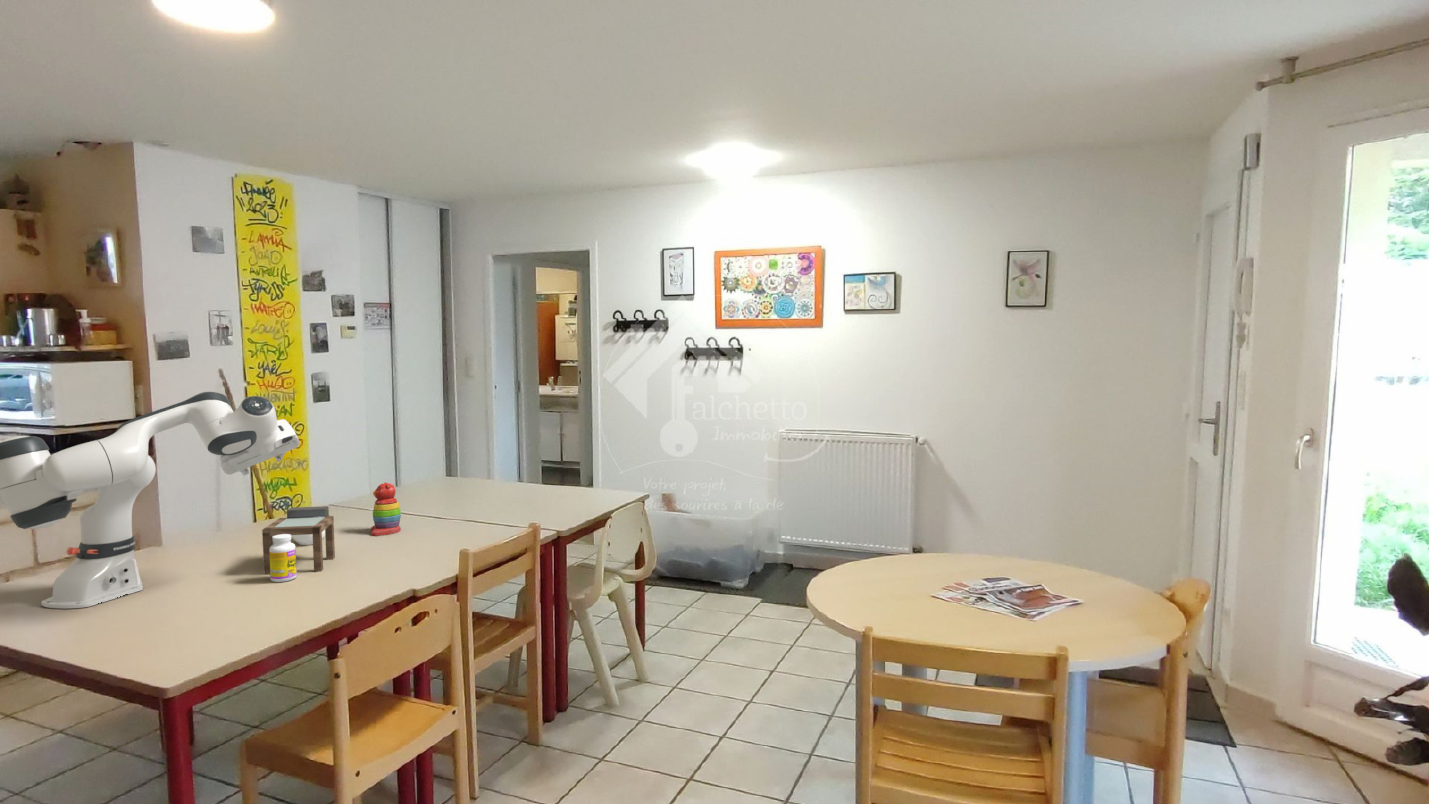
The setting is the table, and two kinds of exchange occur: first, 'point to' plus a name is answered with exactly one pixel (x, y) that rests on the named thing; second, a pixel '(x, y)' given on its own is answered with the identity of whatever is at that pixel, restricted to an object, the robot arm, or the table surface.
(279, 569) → the supplement bottle
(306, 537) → the lidded bowl
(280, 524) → the trapdoor
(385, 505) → the stacking bear
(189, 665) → the table surface
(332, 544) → the miniature wooden table
